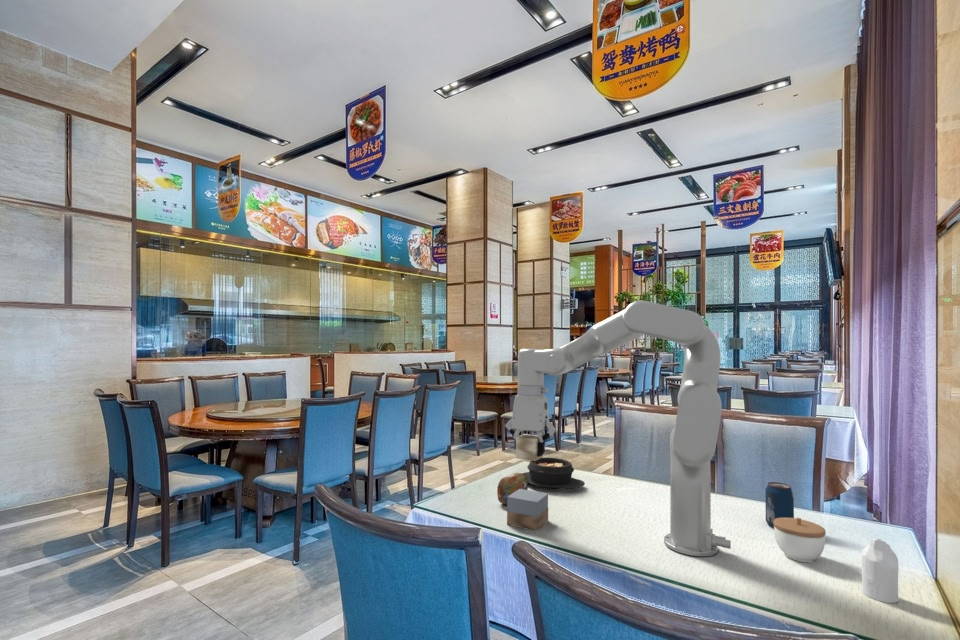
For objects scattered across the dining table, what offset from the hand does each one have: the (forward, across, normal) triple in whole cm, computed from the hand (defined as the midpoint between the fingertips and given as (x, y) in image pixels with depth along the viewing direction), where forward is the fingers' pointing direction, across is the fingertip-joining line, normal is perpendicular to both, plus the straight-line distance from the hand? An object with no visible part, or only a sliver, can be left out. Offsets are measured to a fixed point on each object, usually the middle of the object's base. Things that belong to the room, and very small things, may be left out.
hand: (529, 453), depth 138 cm
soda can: (+20, -63, -36) cm, 75 cm away
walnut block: (+20, 0, 0) cm, 20 cm away
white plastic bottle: (+20, -79, -1) cm, 81 cm away
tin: (+20, +12, -15) cm, 28 cm away
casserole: (+20, +8, -39) cm, 45 cm away
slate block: (+16, 0, 0) cm, 16 cm away
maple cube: (+1, 0, 0) cm, 1 cm away
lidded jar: (+20, -66, -15) cm, 70 cm away
